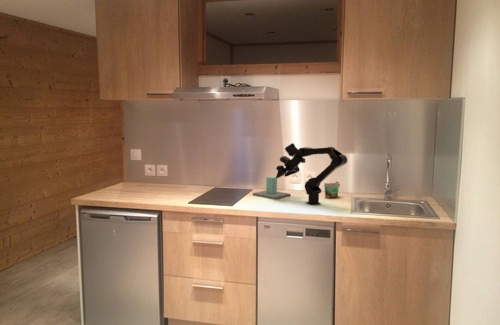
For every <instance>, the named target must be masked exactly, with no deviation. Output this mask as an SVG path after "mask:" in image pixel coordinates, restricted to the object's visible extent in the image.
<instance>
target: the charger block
mask: <svg viewBox="0 0 500 325" xmlns="http://www.w3.org/2000/svg"><path fill="white" fill-rule="evenodd" d="M265 183H266V185H265V186H266V189H265V190H266V193H267V194H276V193H277V191H278V178H276V176H268V177H267V176H266V182H265Z"/></svg>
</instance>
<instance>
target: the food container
mask: <svg viewBox="0 0 500 325" xmlns="http://www.w3.org/2000/svg"><path fill="white" fill-rule="evenodd" d="M323 187H324V198H325V199H337V198H338V197H339V187H341V184H340V182H339V181H335V182H329V183H327V182H324V184H323Z"/></svg>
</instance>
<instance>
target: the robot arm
mask: <svg viewBox="0 0 500 325" xmlns="http://www.w3.org/2000/svg"><path fill="white" fill-rule="evenodd" d="M284 150H285V152H286V153H287V155H288V156H289V157H292V158H291V159H290V158H289V157H288V156H285V155H282V156H280V158H279V161H280V162H281V163H283V165H282V164H281V165H277V166H276V168H275V169H276V170H277V173H276V176H275V177H276V178H277V179H279V178H281V177H283V176H284V177H290V176H293V175H294V174H297V173H299V172H300V170H301V169H300V167H299V165H300V164H305V163H306V158H305V157H310V156H314V155H325V154H327V155H328V156H329V158H330V160H331V162H330V164H329V165H328V166H327V167H325V169H323V170H322V171H321V172H320V173H319V174H318V175H317V176H316V177H310V178H308V180H307V181H305V183H304V189H305V192H306V195H308V201H306V204H309V205H311V206H313V205H314V206H315V205H321V202H319V201H320V194H321V193H322V189H321V188H320V185H321V183H322V182H324V181H325V179H326V178H328V177H329V176H330V175H331V174H332V173H333V172H334V171H335V170H337V169H339V168H341V167H343V166H344V165H346V164H347V162H348V157H347V156H346V155H345V154H343V153H341V152H340V151H339V150H337V149H336V148H335V146H328V147H320V148H318V147H314V148H313V147H307V146H306V147H305V146H304V147H299V148H297V147H296V145H295V143H294V142H292V143H291V144H288V145H287V146H286V147H285V148H284ZM284 166H285V167H284Z"/></svg>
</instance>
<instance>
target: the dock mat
mask: <svg viewBox="0 0 500 325" xmlns="http://www.w3.org/2000/svg"><path fill="white" fill-rule="evenodd" d="M252 196H255V197H260V198H265V199H269V200H270V199H271V200H274V201H277V200H281V199H284V198H288V197H291V196H292V195H291V193H288V192H283V191H278V190H277V193H276V194H267V193H266V189H264V190H261V191H260V190H259V191H255V192H253V193H252Z"/></svg>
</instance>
